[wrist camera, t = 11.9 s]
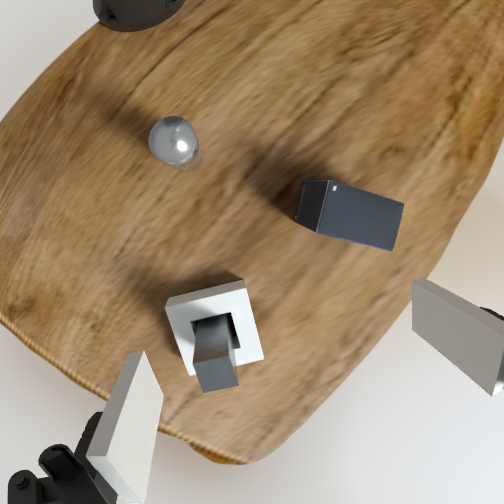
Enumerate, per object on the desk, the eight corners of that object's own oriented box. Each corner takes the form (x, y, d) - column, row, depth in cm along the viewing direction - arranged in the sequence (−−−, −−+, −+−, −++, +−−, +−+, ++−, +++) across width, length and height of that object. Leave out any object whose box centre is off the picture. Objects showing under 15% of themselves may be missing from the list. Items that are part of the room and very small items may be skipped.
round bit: (167, 144, 40) (144, 123, 26) (198, 136, 40) (189, 110, 27) (174, 175, 41) (153, 168, 27) (205, 166, 41) (200, 155, 28)
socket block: (168, 297, 44) (164, 307, 40) (243, 279, 45) (245, 287, 41) (191, 362, 46) (189, 375, 42) (260, 346, 47) (264, 358, 43)
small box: (291, 224, 44) (313, 235, 34) (302, 179, 43) (327, 176, 33) (358, 240, 45) (393, 254, 35) (368, 198, 44) (406, 201, 34)
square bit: (198, 314, 45) (192, 363, 31) (225, 307, 45) (229, 355, 32) (206, 338, 46) (203, 392, 32) (232, 331, 46) (238, 385, 32)
